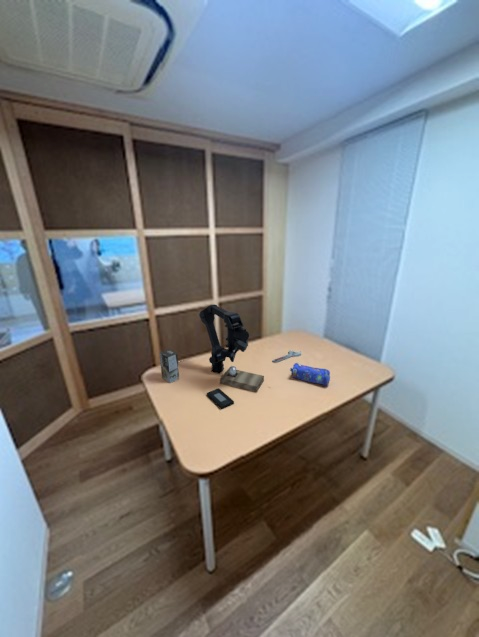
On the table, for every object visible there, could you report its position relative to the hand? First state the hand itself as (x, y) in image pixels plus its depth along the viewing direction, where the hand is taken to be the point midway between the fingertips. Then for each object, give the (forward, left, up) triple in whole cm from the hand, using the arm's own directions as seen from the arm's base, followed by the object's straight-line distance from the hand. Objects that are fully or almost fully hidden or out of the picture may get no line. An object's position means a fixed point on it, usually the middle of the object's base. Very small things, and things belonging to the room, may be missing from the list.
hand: (232, 361), depth 145 cm
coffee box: (-34, -12, -12) cm, 38 cm away
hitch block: (+5, +1, -12) cm, 13 cm away
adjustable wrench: (+22, +43, -13) cm, 50 cm away
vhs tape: (+2, -19, -13) cm, 23 cm away
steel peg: (0, +1, -12) cm, 12 cm away
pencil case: (+41, +18, -12) cm, 47 cm away
